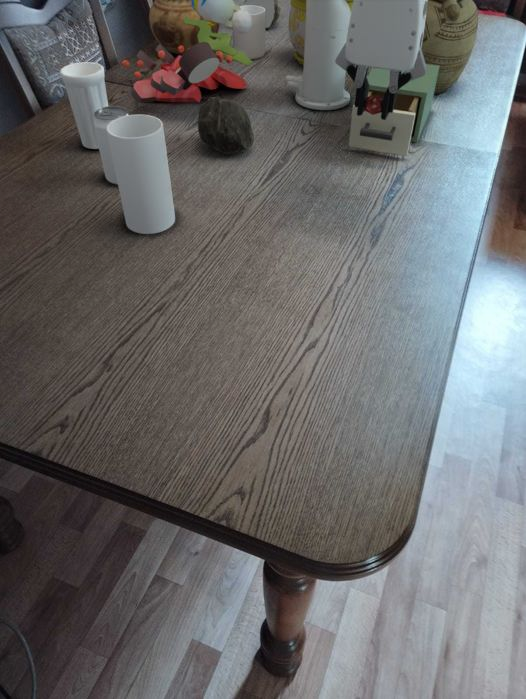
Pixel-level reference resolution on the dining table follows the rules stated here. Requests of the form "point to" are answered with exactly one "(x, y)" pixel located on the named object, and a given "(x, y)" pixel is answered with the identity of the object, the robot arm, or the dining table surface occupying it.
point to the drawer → (386, 126)
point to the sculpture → (267, 10)
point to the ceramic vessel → (449, 38)
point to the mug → (252, 34)
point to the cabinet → (410, 91)
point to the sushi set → (196, 58)
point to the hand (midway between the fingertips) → (373, 113)
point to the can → (100, 124)
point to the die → (374, 104)
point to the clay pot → (175, 24)
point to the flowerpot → (300, 26)
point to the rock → (225, 126)
